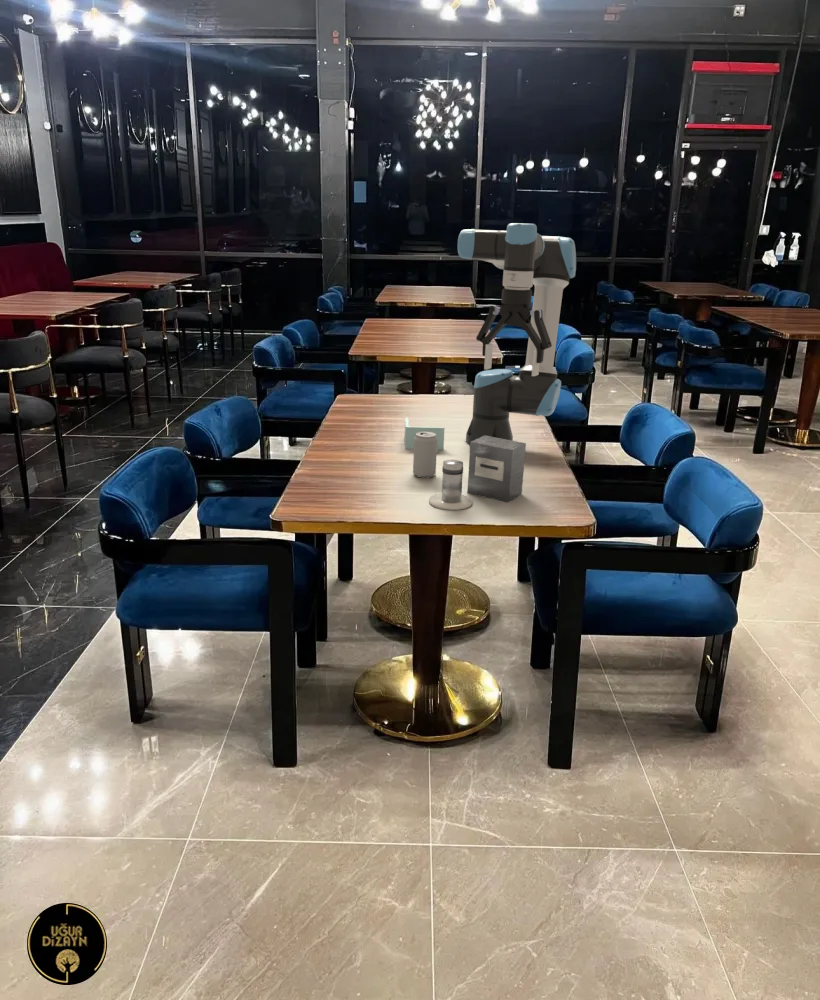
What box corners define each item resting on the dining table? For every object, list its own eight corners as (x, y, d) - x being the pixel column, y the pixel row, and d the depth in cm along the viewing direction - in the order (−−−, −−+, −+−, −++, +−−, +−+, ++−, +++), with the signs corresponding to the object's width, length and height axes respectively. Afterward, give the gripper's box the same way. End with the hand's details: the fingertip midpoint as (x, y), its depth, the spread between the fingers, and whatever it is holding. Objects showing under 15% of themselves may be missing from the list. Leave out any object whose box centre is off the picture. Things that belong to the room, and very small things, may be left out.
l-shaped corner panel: (443, 451, 244) (444, 427, 241) (405, 450, 243) (405, 427, 241) (441, 440, 255) (442, 418, 252) (404, 439, 255) (404, 417, 252)
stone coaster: (442, 492, 206) (442, 490, 206) (479, 501, 200) (479, 498, 200) (420, 504, 197) (420, 501, 197) (458, 513, 192) (459, 511, 191)
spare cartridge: (447, 495, 202) (449, 458, 198) (465, 499, 199) (467, 461, 196) (437, 500, 198) (439, 463, 194) (455, 505, 195) (457, 467, 192)
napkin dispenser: (481, 485, 212) (484, 435, 207) (521, 494, 206) (525, 443, 201) (466, 493, 205) (469, 442, 201) (507, 503, 200) (511, 450, 195)
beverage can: (422, 470, 223) (423, 429, 219) (440, 475, 219) (442, 433, 215) (408, 475, 219) (409, 433, 214) (426, 480, 215) (427, 438, 211)
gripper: (466, 285, 199) (462, 368, 207) (558, 292, 187) (549, 380, 194) (480, 283, 205) (475, 364, 213) (569, 290, 193) (561, 376, 200)
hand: (511, 372), depth 204 cm, fingers open, 13 cm apart
